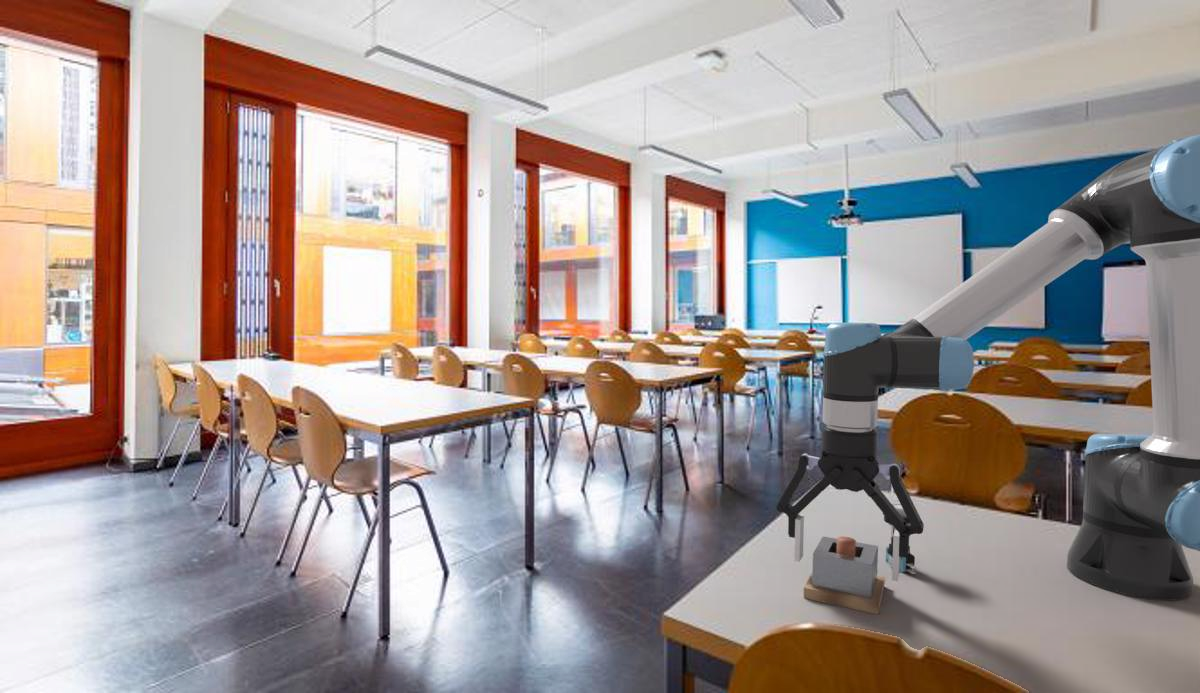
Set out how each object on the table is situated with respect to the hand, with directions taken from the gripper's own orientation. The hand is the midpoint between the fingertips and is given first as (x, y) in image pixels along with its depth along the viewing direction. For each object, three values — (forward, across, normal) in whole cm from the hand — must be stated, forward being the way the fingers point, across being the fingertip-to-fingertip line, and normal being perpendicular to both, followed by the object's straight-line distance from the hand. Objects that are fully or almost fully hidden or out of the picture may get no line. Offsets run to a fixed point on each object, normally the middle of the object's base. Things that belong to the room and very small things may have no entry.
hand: (845, 567), depth 93 cm
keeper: (+4, 0, 0) cm, 4 cm away
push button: (+4, -7, -14) cm, 16 cm away
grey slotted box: (+2, 0, 0) cm, 2 cm away
